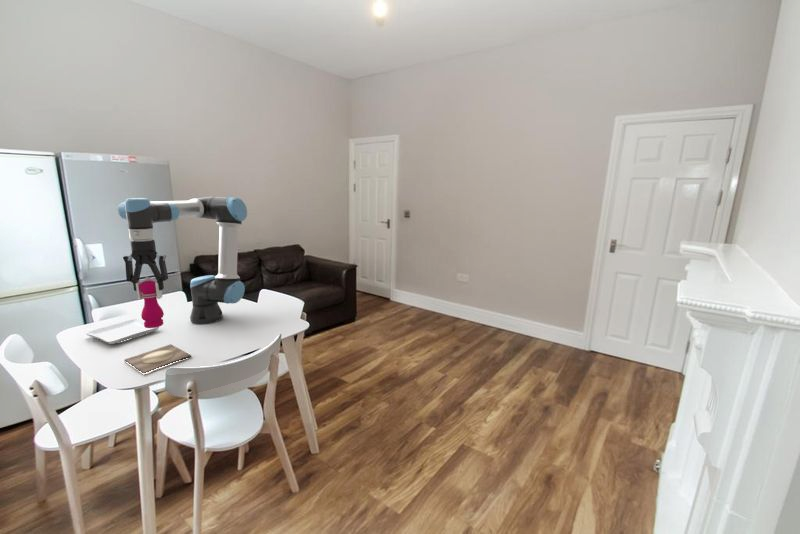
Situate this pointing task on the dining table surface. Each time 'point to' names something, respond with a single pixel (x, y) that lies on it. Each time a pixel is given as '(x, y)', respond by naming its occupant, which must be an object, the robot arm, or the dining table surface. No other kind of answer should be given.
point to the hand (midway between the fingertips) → (150, 298)
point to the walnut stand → (157, 358)
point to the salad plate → (118, 325)
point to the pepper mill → (150, 305)
